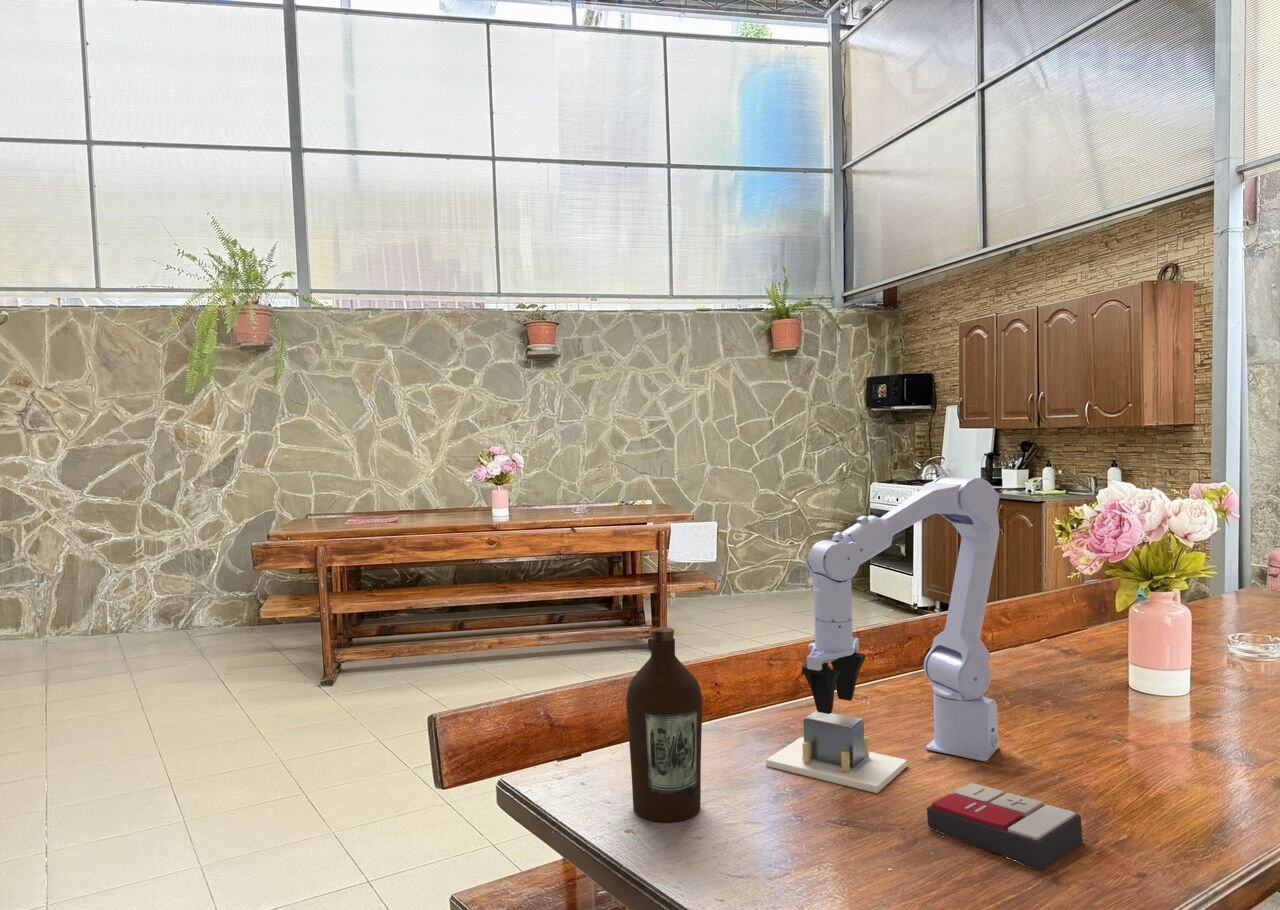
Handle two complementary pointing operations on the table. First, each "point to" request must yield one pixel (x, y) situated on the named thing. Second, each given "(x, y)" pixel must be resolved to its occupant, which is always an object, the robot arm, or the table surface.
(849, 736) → the block
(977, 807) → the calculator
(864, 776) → the cream pegged board
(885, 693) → the table surface
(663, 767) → the olive oil
